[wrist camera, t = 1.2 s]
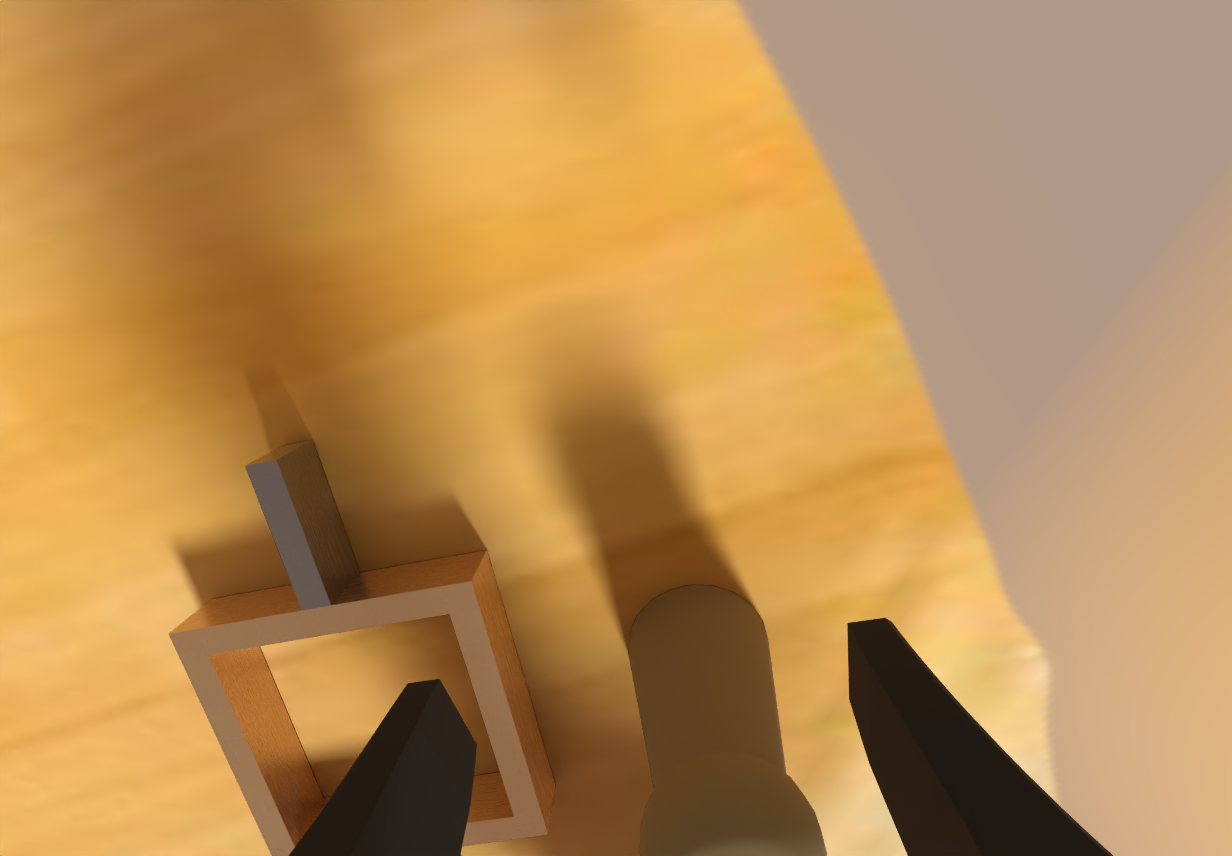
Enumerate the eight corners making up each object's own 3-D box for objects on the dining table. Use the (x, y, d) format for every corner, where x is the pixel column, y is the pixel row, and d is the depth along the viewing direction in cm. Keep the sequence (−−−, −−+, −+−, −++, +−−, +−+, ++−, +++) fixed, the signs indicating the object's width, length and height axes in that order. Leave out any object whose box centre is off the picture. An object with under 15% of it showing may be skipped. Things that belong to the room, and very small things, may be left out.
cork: (603, 668, 26) (582, 944, 16) (672, 560, 25) (699, 785, 14) (721, 725, 27) (776, 1028, 16) (795, 624, 25) (910, 884, 15)
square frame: (583, 880, 30) (578, 935, 27) (347, 911, 31) (323, 966, 28) (447, 412, 23) (425, 430, 21) (155, 470, 24) (103, 493, 22)
